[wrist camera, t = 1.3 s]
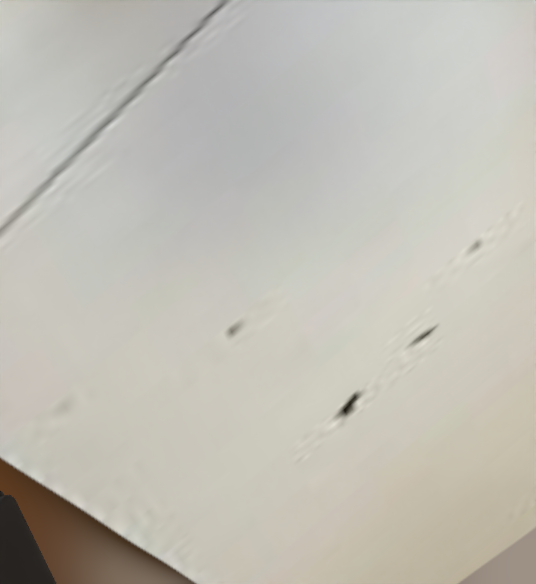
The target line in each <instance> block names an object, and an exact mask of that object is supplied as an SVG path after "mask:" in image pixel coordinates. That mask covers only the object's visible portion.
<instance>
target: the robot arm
mask: <svg viewBox="0 0 536 584" xmlns="http://www.w3.org/2000/svg"><path fill="white" fill-rule="evenodd" d="M0 584H56V582H55V580H54V578H53V576H52V574H51V572H50V570H49V568H48V566H47V564H46V562H45V560H44V558H43V556H42V553H41V551H40V550H39V547H38V545H37V543H36V541H35V539H34V537H33V535H32V533H31V531H30V529H29V527H28V525H27V523H26V521H25V519H24V517H23V514H22V513H21V510H20V508H19V506H18V504H17V502H16V500H15V499H14V498H13V497H12V496H11V495H4V494H3V492H1V491H0Z"/></svg>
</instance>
